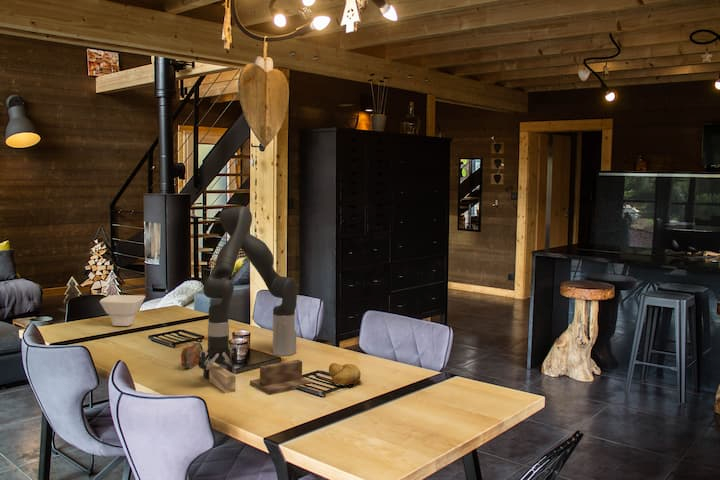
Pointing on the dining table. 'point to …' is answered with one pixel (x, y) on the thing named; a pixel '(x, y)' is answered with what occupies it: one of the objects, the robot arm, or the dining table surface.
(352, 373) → the bread roll
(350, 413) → the dining table surface
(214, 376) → the oak bar
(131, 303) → the bowl
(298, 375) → the stand
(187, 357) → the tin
